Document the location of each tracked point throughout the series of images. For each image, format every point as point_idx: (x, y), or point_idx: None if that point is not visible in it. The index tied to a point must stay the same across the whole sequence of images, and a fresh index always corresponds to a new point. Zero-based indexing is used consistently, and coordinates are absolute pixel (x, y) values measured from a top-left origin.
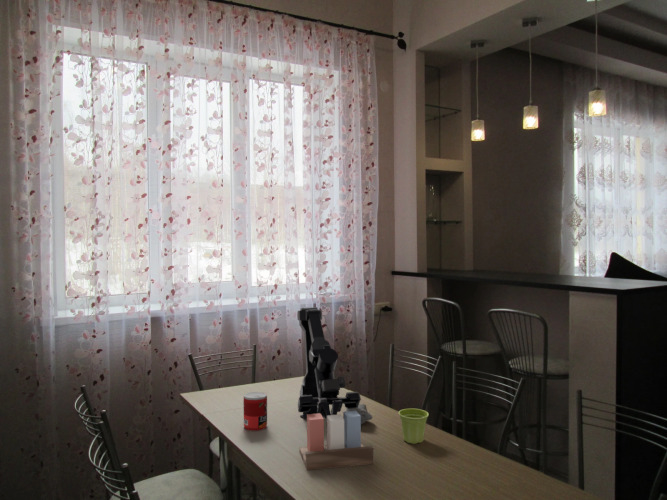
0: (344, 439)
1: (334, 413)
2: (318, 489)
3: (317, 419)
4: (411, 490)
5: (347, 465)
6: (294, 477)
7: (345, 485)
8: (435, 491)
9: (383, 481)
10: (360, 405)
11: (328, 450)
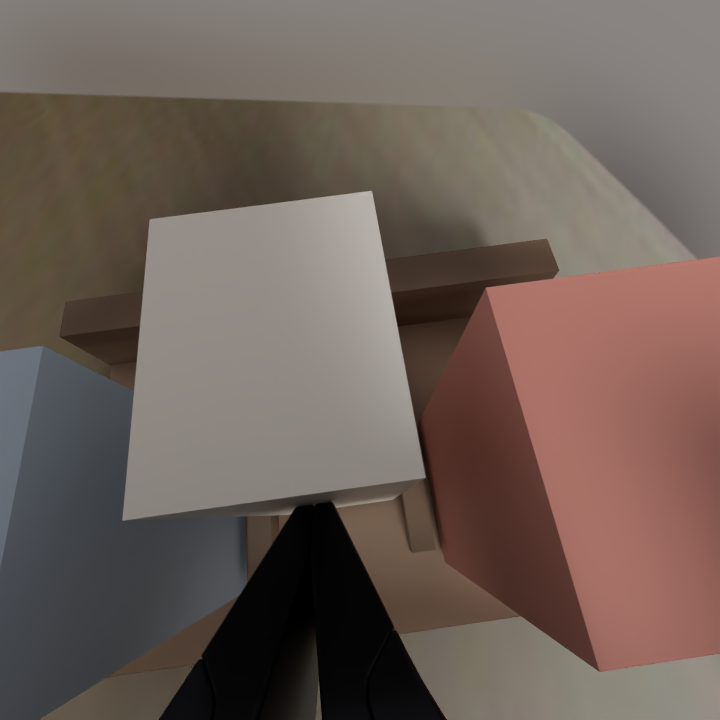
0: (225, 555)
1: (225, 703)
2: (440, 135)
3: (594, 274)
4: (85, 116)
5: None
6: (561, 231)
7: (326, 157)
8: (6, 108)
9: (159, 178)
10: None
11: (392, 281)
